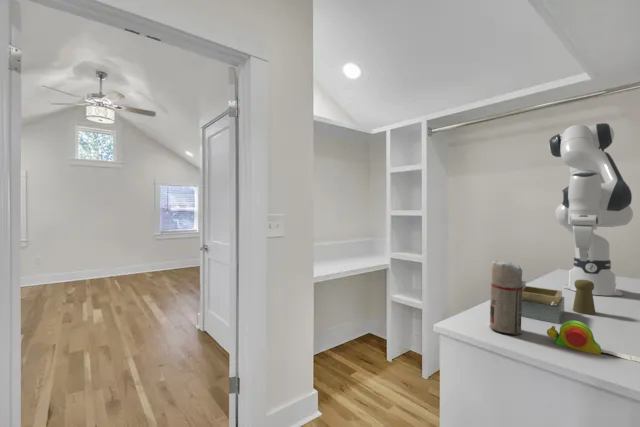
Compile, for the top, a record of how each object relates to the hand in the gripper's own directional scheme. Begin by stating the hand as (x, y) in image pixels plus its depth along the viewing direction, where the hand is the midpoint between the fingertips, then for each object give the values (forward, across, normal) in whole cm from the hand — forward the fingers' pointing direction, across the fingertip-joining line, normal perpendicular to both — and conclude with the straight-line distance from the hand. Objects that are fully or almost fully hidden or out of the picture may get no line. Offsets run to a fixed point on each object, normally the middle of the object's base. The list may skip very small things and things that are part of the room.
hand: (584, 259), depth 105 cm
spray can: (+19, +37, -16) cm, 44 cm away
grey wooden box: (+18, +12, -11) cm, 24 cm away
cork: (+18, 0, 0) cm, 18 cm away
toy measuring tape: (+19, +37, +4) cm, 41 cm away
